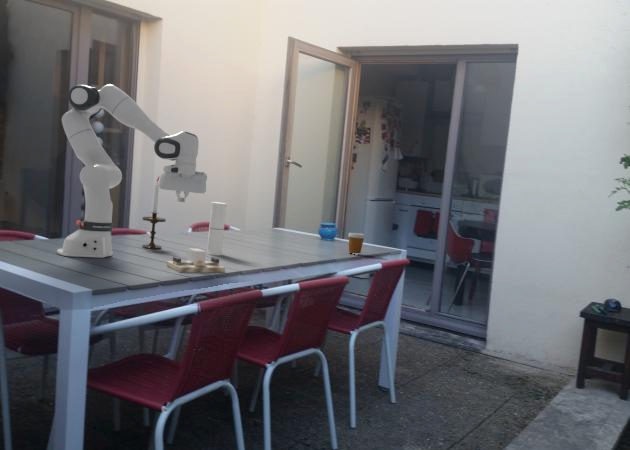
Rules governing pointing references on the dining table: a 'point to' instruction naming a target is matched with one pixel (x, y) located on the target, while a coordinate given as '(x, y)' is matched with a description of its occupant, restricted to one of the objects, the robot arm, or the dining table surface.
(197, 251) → the module
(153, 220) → the candlestick
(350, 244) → the glass of beer
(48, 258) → the dining table surface
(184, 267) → the board
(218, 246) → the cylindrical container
